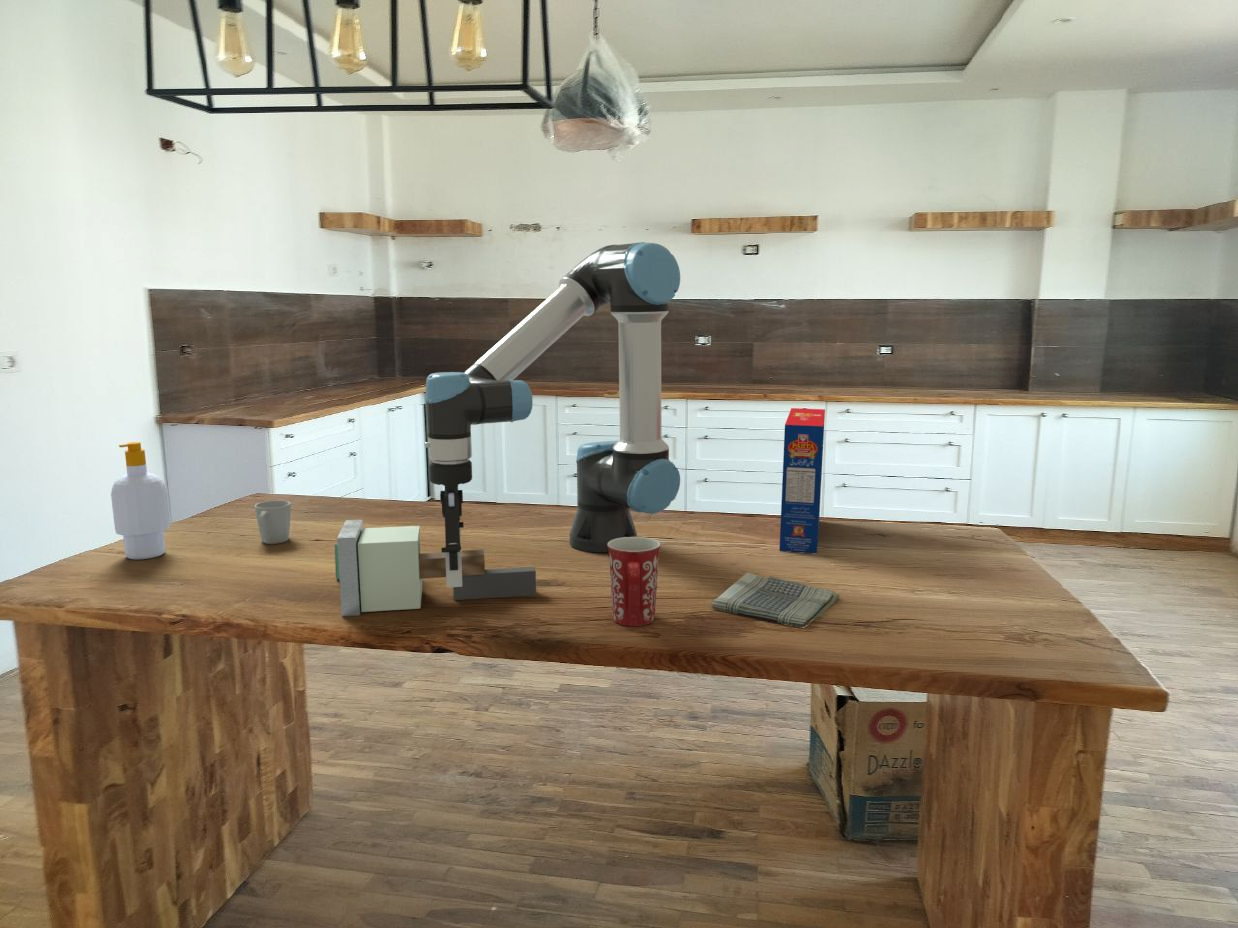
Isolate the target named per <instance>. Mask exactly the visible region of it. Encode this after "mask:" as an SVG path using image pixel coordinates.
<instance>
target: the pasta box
mask: <svg viewBox="0 0 1238 928" xmlns="http://www.w3.org/2000/svg"><path fill="white" fill-rule="evenodd" d="M825 416H826V409H823V408H797V407H795V408H794V407H793V408H792V407H791V408H790V411H789V413H788V415H787V419H786V421H785V423H784V436H783V437H784V438H783V439H784V440H783V459H782V460H783V461H782V462H783V463H782V483H781V484H782V485H781V486H782V487H781V503H780V504H781V505H780V506H781V508H780V524H779V525H780V530H779V531H780V533H779V552H786V551H791V552H790V553H799V552H804V553H803V554H812V553H817V554H818V546H817V545H818V543H819V530H820V517H821V516H820V513H821V512H820V510H821V496H822V495H821V494H822V492H821V491H822V480H823V479H822V476H823V474H822V473H823V458H824V457H823V456H824V439H825V436H824V435H825V422H826V421H825V420H826V419H825V418H826V417H825Z"/></svg>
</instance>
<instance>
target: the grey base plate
mask: <svg viewBox="0 0 1238 928" xmlns="http://www.w3.org/2000/svg"><path fill="white" fill-rule="evenodd" d="M363 522H364V520H363V519H345V521H344V523H343V525H342V527H341V529H340V532H339V533H338V535H337V538H336V541H337V542H336V543H337V546H338V563H339V579H340V580H339V579H338V580H339V590H340V592H339V593H340V610H341V617H355V616H356V617H357V616H361V613H362V611H361V593H360V576H359V558H358V542H359V539H360V536H361V534H362V531H363V529H364V523H363Z"/></svg>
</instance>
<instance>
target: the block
mask: <svg viewBox="0 0 1238 928" xmlns="http://www.w3.org/2000/svg"><path fill="white" fill-rule="evenodd" d="M421 549H422V548H421V529H420V525H408V526H407V525H406V526H388V527H387V526H383V527H365V528H364V527H363V531H362V534H361V536H360V539H359V542H358V558H359V576H360V593H361V613H367V612H368V613H369V612H383V611H386V612H387V611H401V610H417V609H421V606H422V596H423V579H420V574H419V554H422V551H421Z"/></svg>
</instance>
